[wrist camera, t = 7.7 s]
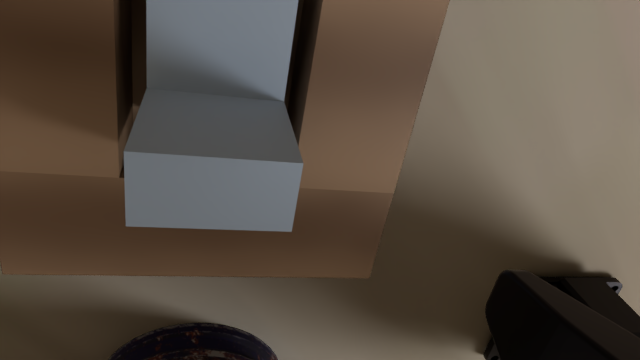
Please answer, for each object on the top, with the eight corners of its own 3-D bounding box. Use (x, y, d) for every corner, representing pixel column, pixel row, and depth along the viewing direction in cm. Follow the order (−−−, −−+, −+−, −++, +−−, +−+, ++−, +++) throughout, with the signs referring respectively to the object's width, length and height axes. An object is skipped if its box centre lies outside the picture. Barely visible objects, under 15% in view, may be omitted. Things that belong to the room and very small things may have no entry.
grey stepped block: (268, 122, 18) (291, 231, 12) (157, 112, 17) (125, 226, 11) (290, -51, 15) (334, -15, 10) (158, -74, 14) (117, -50, 9)
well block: (348, 225, 22) (369, 278, 19) (36, 213, 19) (2, 274, 16) (454, -205, 15) (516, -231, 12) (-37, -342, 11) (-129, -426, 8)
